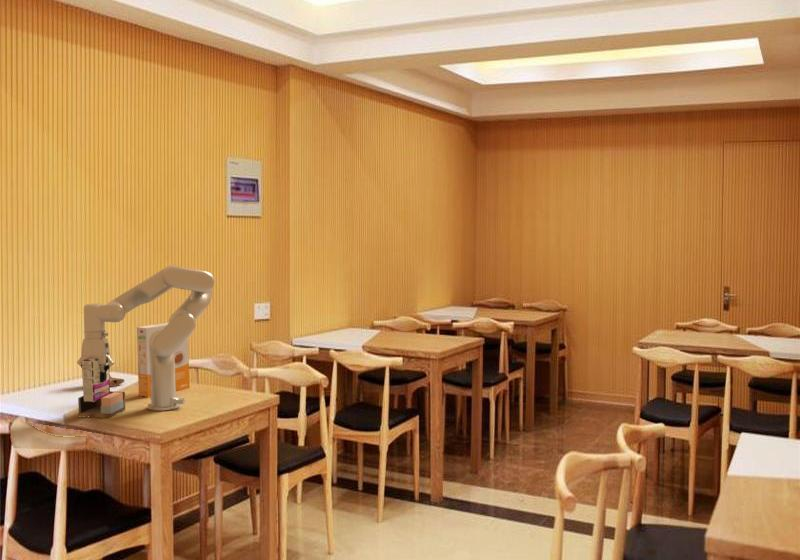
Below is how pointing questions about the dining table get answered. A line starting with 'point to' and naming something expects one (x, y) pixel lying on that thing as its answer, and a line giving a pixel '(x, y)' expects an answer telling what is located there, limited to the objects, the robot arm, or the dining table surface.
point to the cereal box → (144, 361)
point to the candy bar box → (94, 381)
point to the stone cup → (115, 380)
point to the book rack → (103, 405)
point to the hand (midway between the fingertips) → (96, 381)
